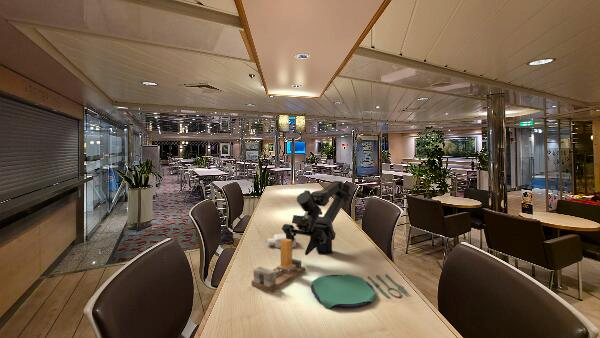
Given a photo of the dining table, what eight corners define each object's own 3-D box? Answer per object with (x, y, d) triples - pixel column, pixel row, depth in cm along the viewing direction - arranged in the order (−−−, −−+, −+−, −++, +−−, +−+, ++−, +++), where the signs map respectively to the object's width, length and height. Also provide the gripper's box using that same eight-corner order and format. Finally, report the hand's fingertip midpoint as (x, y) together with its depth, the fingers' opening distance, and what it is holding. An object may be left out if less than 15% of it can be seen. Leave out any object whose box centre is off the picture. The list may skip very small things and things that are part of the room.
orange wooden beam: (285, 265, 103) (285, 237, 103) (296, 268, 101) (295, 239, 100) (265, 276, 94) (264, 245, 94) (276, 280, 91) (276, 248, 91)
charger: (262, 243, 136) (292, 241, 139) (264, 250, 127) (296, 247, 130) (262, 234, 136) (292, 232, 139) (264, 239, 127) (296, 237, 130)
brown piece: (286, 266, 107) (285, 252, 107) (305, 271, 102) (305, 256, 102) (251, 285, 91) (251, 268, 91) (272, 292, 86) (271, 275, 86)
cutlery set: (304, 282, 94) (305, 275, 94) (385, 275, 99) (386, 269, 99) (319, 315, 74) (319, 307, 74) (419, 305, 80) (419, 297, 80)
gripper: (283, 204, 113) (266, 237, 105) (323, 209, 103) (307, 246, 94) (295, 219, 120) (280, 251, 112) (333, 224, 110) (319, 261, 101)
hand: (295, 252), depth 104 cm, fingers open, 9 cm apart
